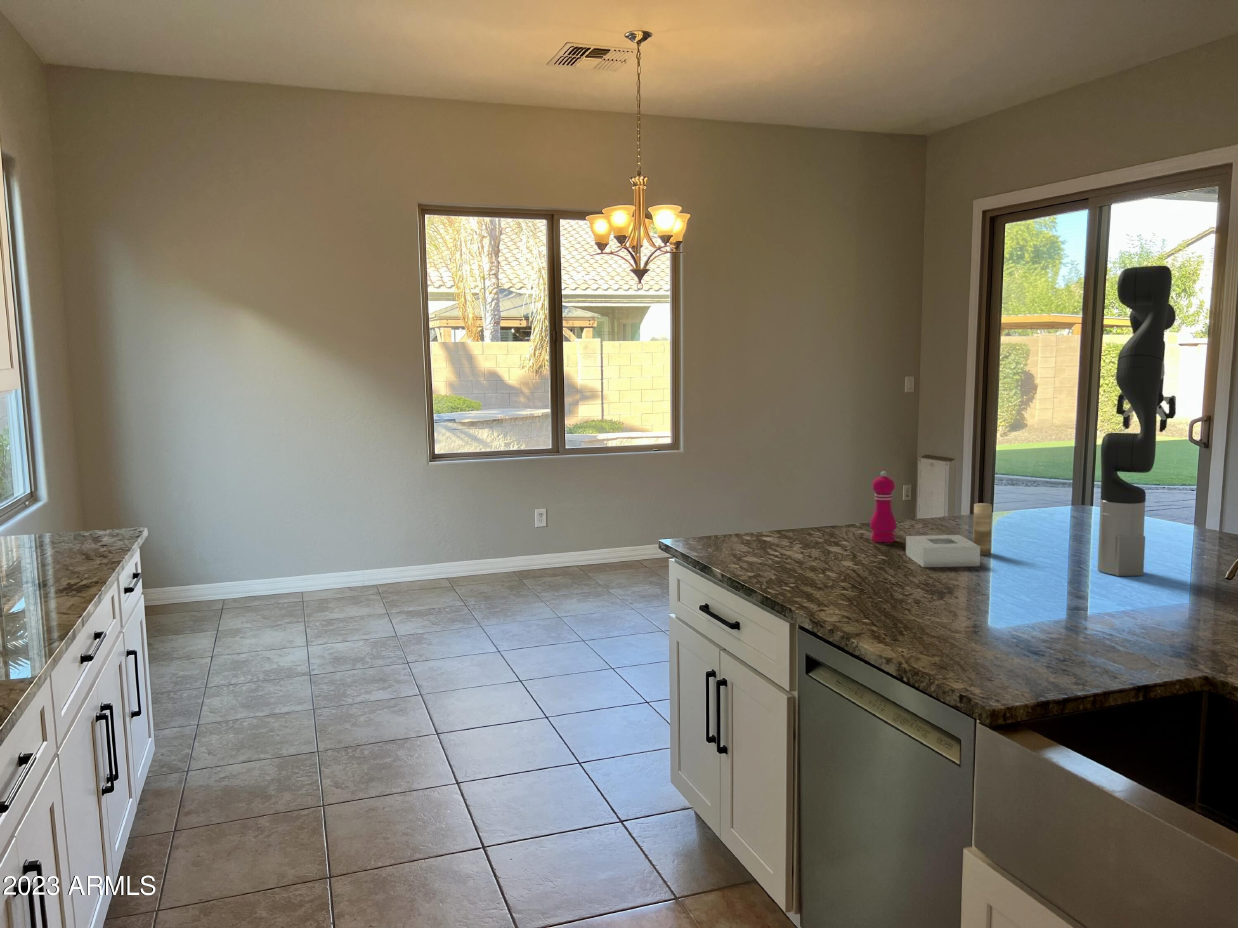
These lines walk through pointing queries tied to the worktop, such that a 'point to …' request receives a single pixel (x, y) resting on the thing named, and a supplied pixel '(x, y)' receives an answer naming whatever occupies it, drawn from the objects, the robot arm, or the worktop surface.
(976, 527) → the peg
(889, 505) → the pepper mill
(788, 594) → the worktop surface
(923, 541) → the white square frame block
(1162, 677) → the worktop surface
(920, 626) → the worktop surface
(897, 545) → the worktop surface
